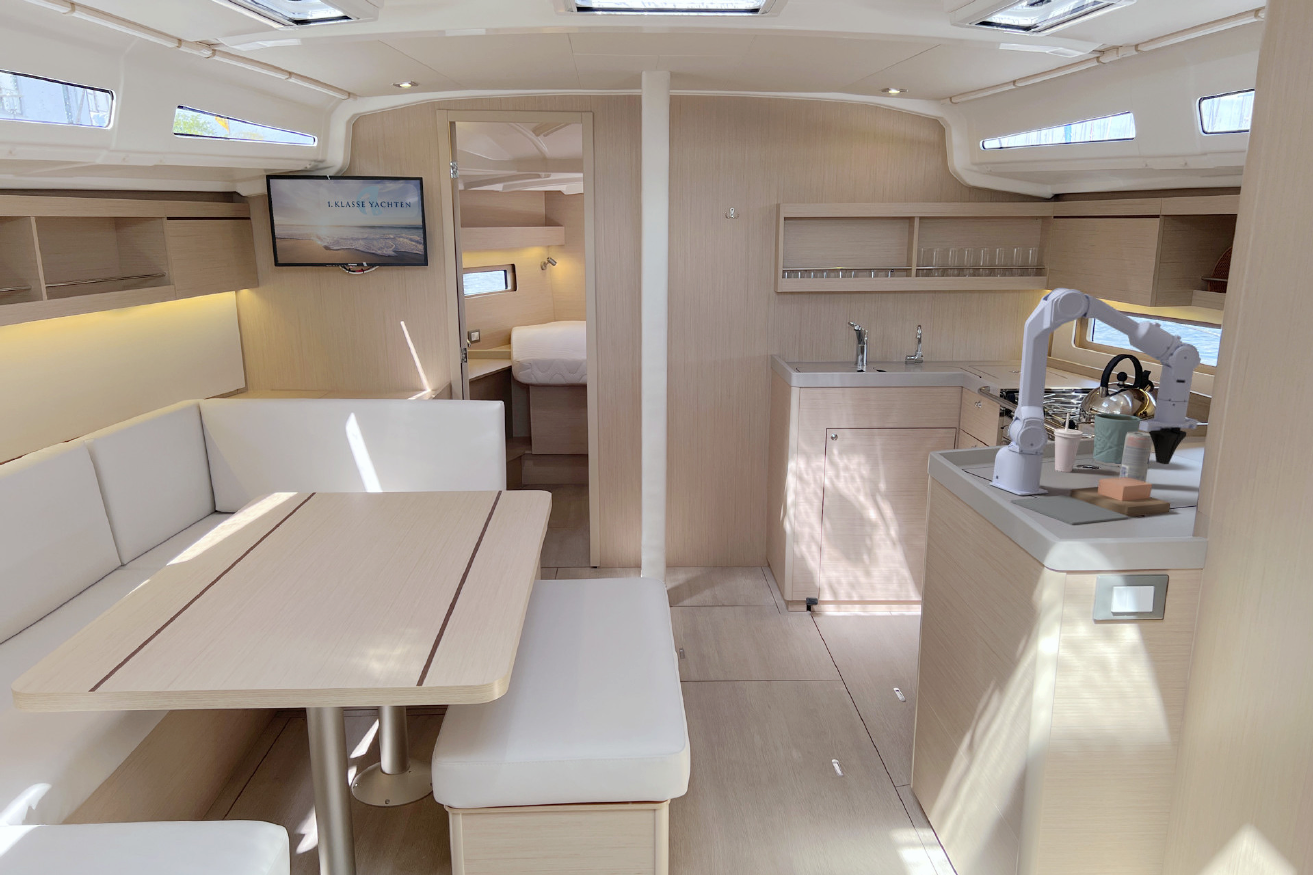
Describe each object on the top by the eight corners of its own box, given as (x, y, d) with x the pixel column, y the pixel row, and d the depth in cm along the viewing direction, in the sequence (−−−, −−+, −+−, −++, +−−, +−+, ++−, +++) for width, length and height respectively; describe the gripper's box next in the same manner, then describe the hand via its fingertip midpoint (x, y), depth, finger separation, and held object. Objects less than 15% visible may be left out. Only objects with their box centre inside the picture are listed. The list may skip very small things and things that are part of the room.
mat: (1010, 502, 184) (1011, 500, 184) (1065, 496, 190) (1065, 495, 190) (1072, 524, 170) (1072, 522, 170) (1129, 518, 175) (1129, 516, 175)
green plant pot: (1142, 466, 222) (1149, 419, 219) (1115, 469, 217) (1122, 421, 215) (1106, 457, 231) (1113, 412, 228) (1079, 460, 226) (1086, 413, 224)
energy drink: (1142, 483, 204) (1150, 432, 202) (1146, 489, 199) (1155, 437, 197) (1116, 480, 206) (1124, 430, 203) (1120, 486, 201) (1128, 434, 198)
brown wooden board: (1070, 498, 189) (1071, 489, 189) (1111, 494, 194) (1112, 485, 193) (1126, 517, 176) (1127, 507, 176) (1169, 512, 181) (1170, 502, 180)
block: (1097, 493, 186) (1099, 479, 185) (1125, 490, 189) (1127, 476, 188) (1121, 500, 181) (1123, 486, 180) (1149, 498, 184) (1152, 484, 183)
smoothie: (1046, 466, 218) (1053, 410, 215) (1074, 468, 217) (1082, 412, 214) (1052, 472, 212) (1060, 414, 209) (1080, 474, 210) (1089, 416, 208)
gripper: (1164, 404, 178) (1154, 469, 181) (1214, 401, 184) (1203, 465, 186) (1134, 398, 184) (1125, 461, 187) (1183, 396, 190) (1173, 457, 193)
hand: (1162, 463), depth 187 cm, fingers closed
